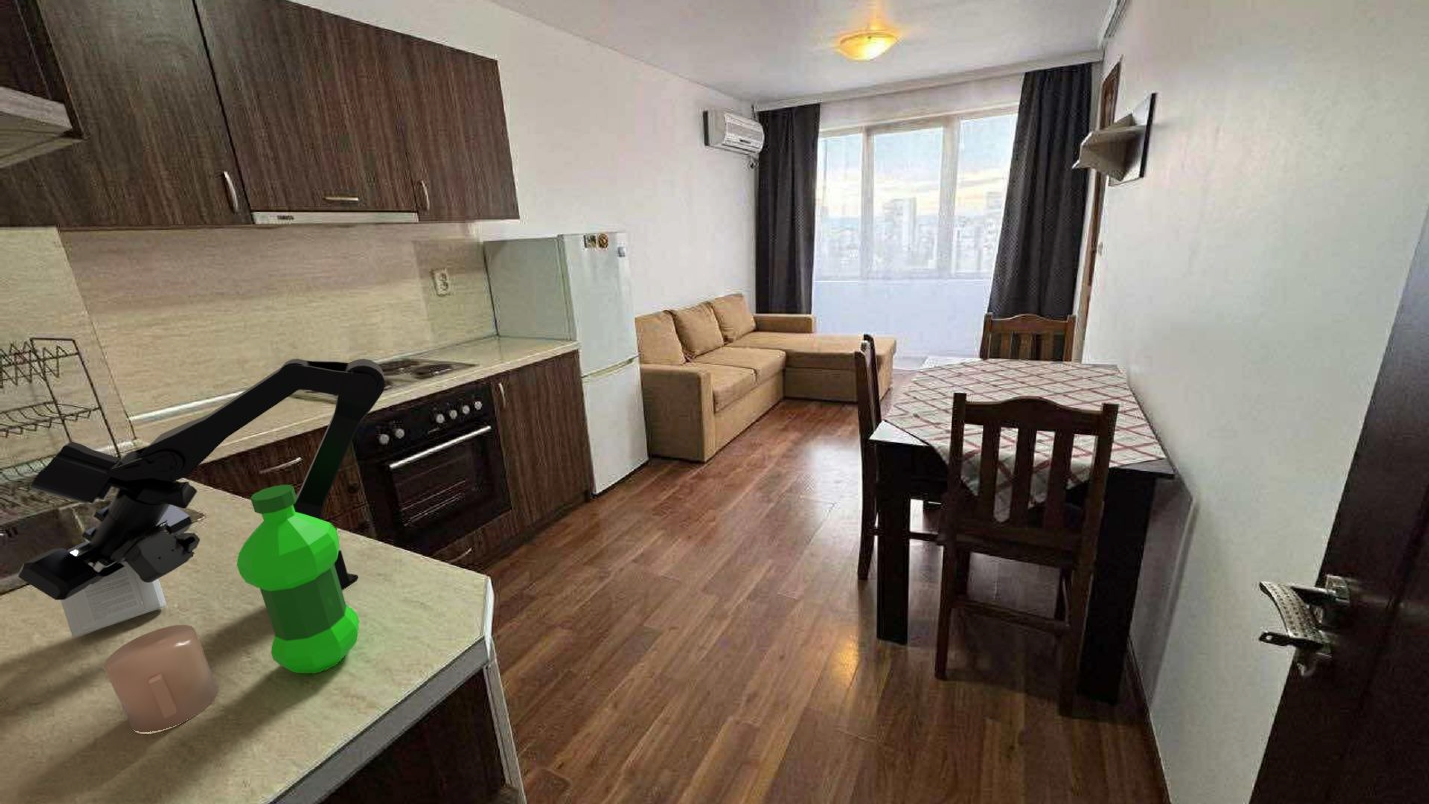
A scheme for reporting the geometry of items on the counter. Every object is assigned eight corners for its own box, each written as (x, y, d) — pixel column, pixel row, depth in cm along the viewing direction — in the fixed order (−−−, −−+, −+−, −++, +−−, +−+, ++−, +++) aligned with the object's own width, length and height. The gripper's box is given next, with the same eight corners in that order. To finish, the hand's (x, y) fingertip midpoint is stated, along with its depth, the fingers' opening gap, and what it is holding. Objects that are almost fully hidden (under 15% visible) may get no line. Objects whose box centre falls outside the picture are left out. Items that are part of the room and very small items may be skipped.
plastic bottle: (308, 698, 71) (248, 519, 64) (262, 673, 76) (201, 503, 68) (383, 646, 80) (339, 482, 72) (338, 626, 84) (291, 470, 77)
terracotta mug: (133, 708, 71) (106, 648, 69) (216, 672, 76) (193, 616, 74) (130, 754, 65) (100, 690, 62) (221, 712, 70) (196, 651, 67)
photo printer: (169, 603, 92) (144, 530, 92) (166, 606, 89) (140, 530, 88) (76, 636, 85) (49, 557, 85) (70, 640, 82) (41, 558, 82)
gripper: (121, 584, 73) (73, 658, 77) (242, 513, 91) (198, 576, 94) (38, 531, 71) (-7, 610, 75) (177, 469, 89) (135, 535, 93)
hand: (91, 581), depth 84 cm, fingers closed
